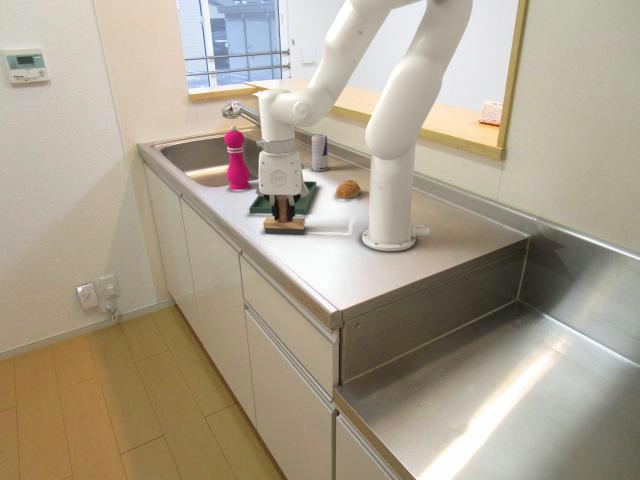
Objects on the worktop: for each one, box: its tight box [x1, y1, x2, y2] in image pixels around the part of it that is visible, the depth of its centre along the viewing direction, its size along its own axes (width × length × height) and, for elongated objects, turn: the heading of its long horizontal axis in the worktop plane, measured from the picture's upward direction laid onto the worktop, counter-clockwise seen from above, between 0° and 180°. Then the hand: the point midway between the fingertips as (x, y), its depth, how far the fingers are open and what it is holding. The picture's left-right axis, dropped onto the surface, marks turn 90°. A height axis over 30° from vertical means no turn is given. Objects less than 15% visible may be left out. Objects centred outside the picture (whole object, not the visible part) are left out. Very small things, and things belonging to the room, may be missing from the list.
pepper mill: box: [224, 124, 251, 191], centre depth 140 cm, size 7×7×20 cm
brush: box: [262, 196, 306, 235], centre depth 112 cm, size 10×4×9 cm, turn 82°
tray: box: [249, 180, 317, 216], centre depth 132 cm, size 15×23×2 cm, turn 172°
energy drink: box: [311, 133, 329, 172], centre depth 158 cm, size 5×5×12 cm
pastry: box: [336, 179, 362, 200], centre depth 134 cm, size 9×7×4 cm
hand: (284, 218), depth 112 cm, fingers closed on brush, 2 cm apart
